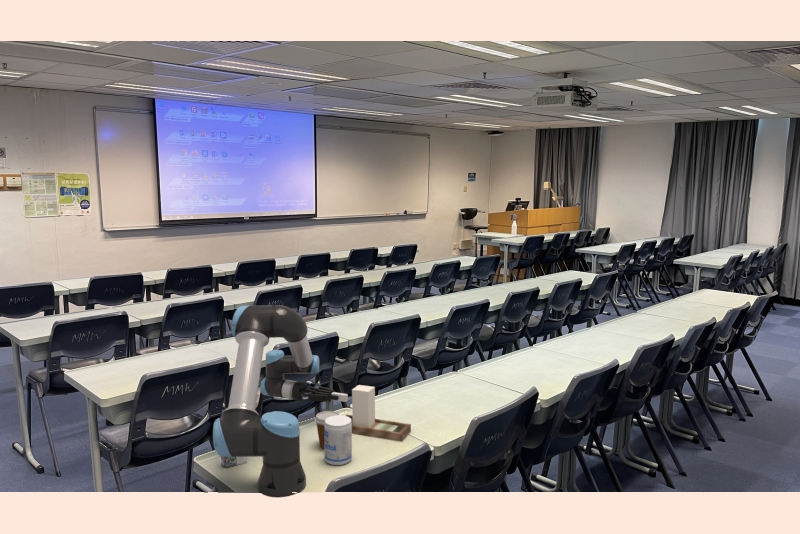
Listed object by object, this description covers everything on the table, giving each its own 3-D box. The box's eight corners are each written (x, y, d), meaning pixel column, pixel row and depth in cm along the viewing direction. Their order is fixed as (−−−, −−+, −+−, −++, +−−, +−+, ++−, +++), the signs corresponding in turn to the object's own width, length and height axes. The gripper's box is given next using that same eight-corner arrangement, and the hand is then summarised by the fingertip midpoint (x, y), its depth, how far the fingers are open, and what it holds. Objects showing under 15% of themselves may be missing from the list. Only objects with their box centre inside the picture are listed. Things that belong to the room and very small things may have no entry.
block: (352, 426, 228) (352, 389, 226) (359, 420, 234) (358, 384, 232) (368, 429, 226) (368, 391, 224) (375, 423, 231) (374, 387, 229)
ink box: (247, 462, 202) (245, 422, 200) (224, 468, 198) (222, 427, 196) (243, 458, 205) (242, 419, 203) (221, 464, 201) (219, 424, 199)
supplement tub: (319, 462, 202) (318, 422, 200) (334, 451, 211) (333, 412, 209) (342, 468, 198) (341, 427, 196) (357, 457, 206) (356, 417, 204)
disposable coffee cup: (310, 448, 213) (309, 417, 211) (325, 438, 221) (324, 408, 220) (331, 454, 209) (331, 422, 207) (346, 443, 217) (345, 413, 215)
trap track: (335, 430, 229) (335, 423, 228) (346, 421, 238) (346, 414, 238) (401, 441, 219) (401, 434, 218) (410, 431, 228) (410, 424, 228)
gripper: (303, 394, 246) (354, 401, 238) (287, 404, 234) (339, 413, 226) (303, 377, 245) (353, 383, 237) (286, 387, 233) (339, 394, 225)
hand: (346, 398), depth 231 cm, fingers closed
